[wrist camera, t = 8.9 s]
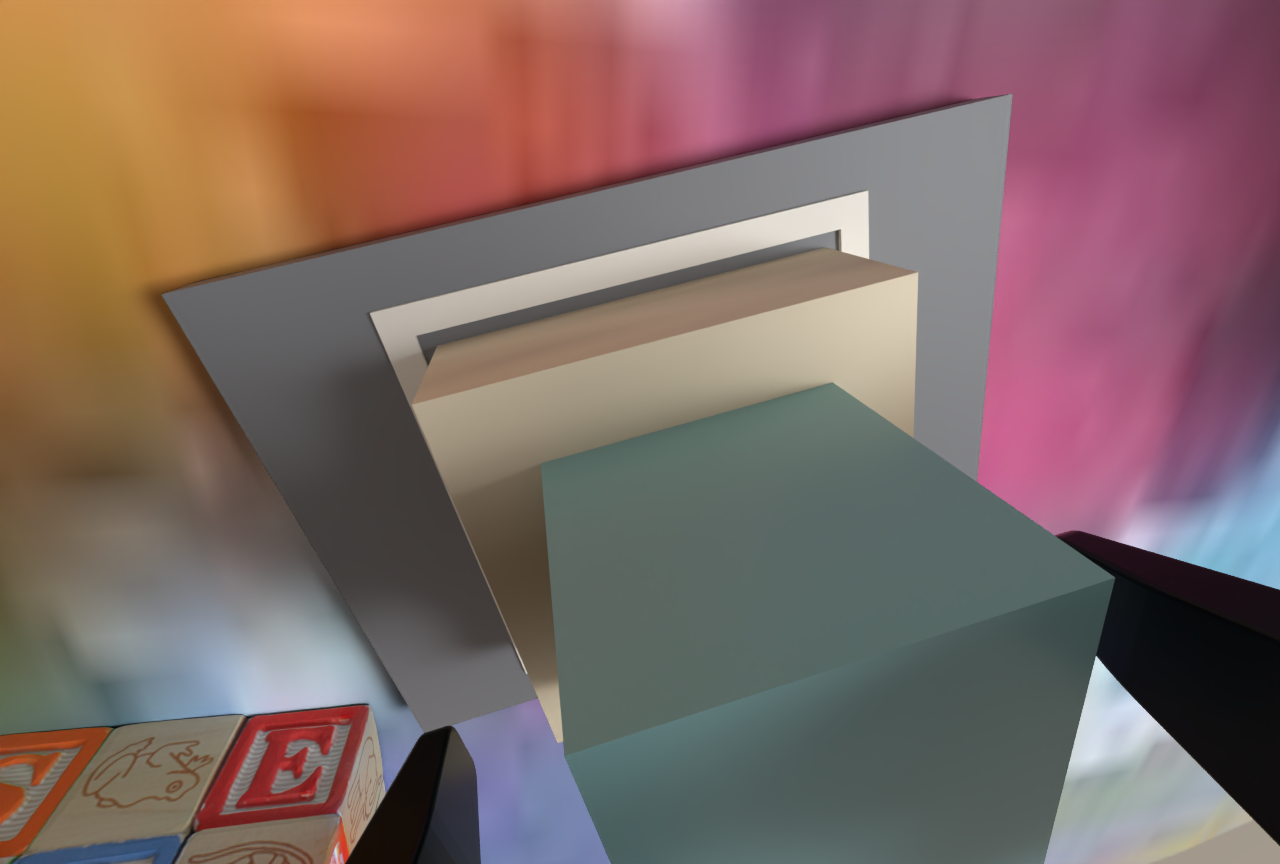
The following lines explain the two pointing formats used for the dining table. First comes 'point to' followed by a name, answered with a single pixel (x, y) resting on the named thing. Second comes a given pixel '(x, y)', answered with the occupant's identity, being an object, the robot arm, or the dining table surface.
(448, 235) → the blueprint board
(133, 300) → the dining table surface
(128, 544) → the dining table surface
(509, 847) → the dining table surface
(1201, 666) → the robot arm
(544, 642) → the maple slab
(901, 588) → the teal cube
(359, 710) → the stack of blocks
